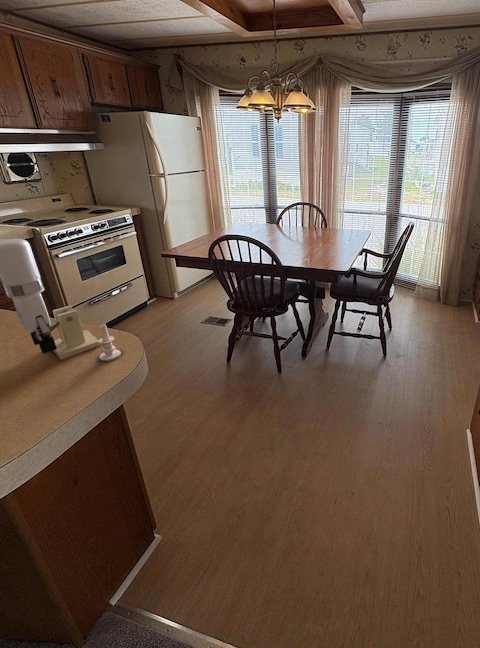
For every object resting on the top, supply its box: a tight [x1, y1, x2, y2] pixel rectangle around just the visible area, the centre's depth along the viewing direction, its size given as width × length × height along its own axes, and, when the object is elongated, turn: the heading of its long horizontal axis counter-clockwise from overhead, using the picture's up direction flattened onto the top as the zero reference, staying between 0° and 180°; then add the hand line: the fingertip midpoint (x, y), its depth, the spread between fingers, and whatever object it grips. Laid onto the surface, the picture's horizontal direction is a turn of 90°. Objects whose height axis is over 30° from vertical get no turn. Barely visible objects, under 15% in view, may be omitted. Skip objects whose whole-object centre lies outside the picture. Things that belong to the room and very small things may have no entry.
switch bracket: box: [52, 305, 101, 360], centre depth 99 cm, size 10×10×12 cm
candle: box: [98, 323, 122, 362], centre depth 95 cm, size 5×5×10 cm
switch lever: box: [33, 309, 69, 340], centre depth 95 cm, size 10×6×2 cm, turn 141°
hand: (45, 346), depth 95 cm, fingers closed on switch lever, 6 cm apart
